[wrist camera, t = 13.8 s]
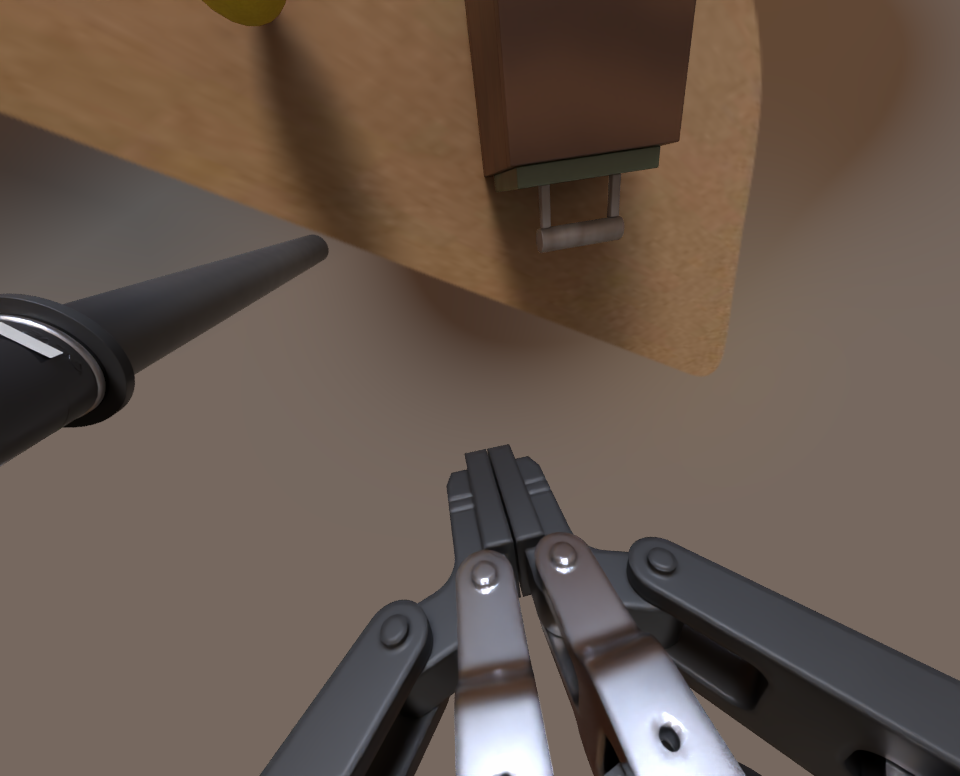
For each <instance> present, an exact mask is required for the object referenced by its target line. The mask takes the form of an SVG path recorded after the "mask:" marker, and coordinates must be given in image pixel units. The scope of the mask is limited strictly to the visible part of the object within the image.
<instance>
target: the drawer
mask: <svg viewBox="0 0 960 776" xmlns="http://www.w3.org/2000/svg"><path fill="white" fill-rule="evenodd" d="M659 155H660V146H659V145H658V146H652V147H645V148H638V149H631V150H625V151H618V152H611V153H604V154H598V155H591V156H584V157H578V158H571V159H564V160H557V161H551V162H544V163H537V164H530V165H524V166H517V167H515V168H512V169H509V170H507V171H504V172H501V173H499V174H496V175H494V181H495V191H496V192H503V191H510V190H516V189H523V188H529V187H536V186H539V209H540V229H538V230H537V233H536V244H537V248H538V251H539V252H540V253H543V252H549V251H555V250H561V249H566V248H572V247H578V246H584V245H590V244H596V243H601V242H607V241H613V240H619V239H620V238H621V237H622V236H623V233H624V221H623V218H622V217H621V216H619V200H620V182H621V174H620V173H626V172H633V171H639V170H645V169H652V168H657V167H658V166H659ZM607 175H609V183H608V207H607V218H601V219H595V220H589V221H583V222H577V223H571V224H565V225H559V226H553V227H551V214H550V185H549V184H555V183H562V182H568V181H574V180H581V179H587V178H594V177H600V176H607Z"/></svg>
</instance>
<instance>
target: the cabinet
mask: <svg viewBox="0 0 960 776" xmlns="http://www.w3.org/2000/svg"><path fill="white" fill-rule="evenodd" d="M695 5H696V0H465V6H466V15H467V24H468V33H469V43H470V52H471V61H472V70H473V79H474V88H475V97H476V106H477V115H478V125H479V134H480V143H481V152H482V161H483V170H484V177H488V176H494V175H496V174H499V173H501V172H504V171H507V170H509V169H512V168H515V167H517V166H524V165H530V164H537V163H544V162H551V161H557V160H564V159H571V158H578V157H584V156H591V155H598V154H604V153H611V152H618V151H625V150H631V149H638V148H645V147H652V146H658V145H659V146H662V145H666V144H670V143H674V142H678V141H679V138H680V129H681V121H682V113H683V104H684V96H685V88H686V80H687V71H688V63H689V55H690V46H691V38H692V30H693V21H694V13H695Z"/></svg>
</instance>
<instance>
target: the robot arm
mask: <svg viewBox="0 0 960 776" xmlns="http://www.w3.org/2000/svg"><path fill="white" fill-rule="evenodd" d="M107 391H108V378H107V374H106V371H105V369H104V367H103V365H102V363H101V362H100V360H99V359H98V357H97V356H96V355H95V354H94V352H93V351H92V350H91V349H90V348H89V347H88V346H87V345H85V344H84V343H83V342H82V341H81V340H79V339H78V338H77V337H75V336H74V335H72V334H71V333H69V332H67V331H66V330H64V329H62V328H60V327H58V326H56V325H54V324H52V323H49V322H47V321H44V320H41V319H38V318H34V317H30V316H26V315H20V314H10V313H0V466H2V465H3V464H5V463H7V462H8V461H10V460H11V459H13V458H14V457H16V456H17V455H19V454H21V453H22V452H24V451H26V450H27V449H29V448H30V447H32V446H33V445H35V444H37V443H38V442H40V441H41V440H43V439H45V438H46V437H48V436H49V435H51V434H53V433H54V432H56V431H57V430H59V429H61V428H62V427H64V426H65V425H67V424H69V423H70V422H72V421H73V420H75V419H77V418H79V417H82V416H83V415H85V414H87V413H89V412H90V411H92V410H93V409H95V408H96V407H98V406H99V405H100V404H101V403H102V402H103V400H104V399H105V397H106V395H107ZM487 450H488V454H487V451H486V449H484V450H479V451H475V452H470V453H465V459H466V463H467V470H463V471H458V472H454V473H451V476H450V478H449V481H448V484H447V494H448V501H449V511H450V520H451V528H452V536H453V545H454V554H455V564H454V568H453V572H452V574H451V576H450V578H449V579H448V581H447V582H446V583H445V584H444V586H442V588H440V589H439V590H438V591H436V592H435V593H434V594H432V595H430V596H429V597H427V598H426V599H424V600H423V601H421V602H419V603H418V604H417V603H415V602H413V601H410V600H398V601H394V602H392V603H390V604H388V605H386V606H384V607H383V608H382V609H380V611H378V612H377V613H376V614H375V616H374V617H373V618H372V619H371V621H370V622H369V624H368V625H367V626H366V628H365V629H364V630H363V632H362V633H361V635H360V636H359V637H358V639H357V640H356V642H355V643H354V644H353V646H352V647H351V649H350V650H349V651H348V653H347V654H346V656H345V657H344V658H343V660H342V661H341V663H340V664H339V665H338V667H337V668H336V670H335V671H334V672H333V674H332V675H331V677H330V678H329V679H328V681H327V682H326V684H325V685H324V686H323V688H322V689H321V691H320V692H319V693H318V695H317V696H316V698H315V699H314V700H313V702H312V703H311V704H310V706H309V707H308V709H307V710H306V712H305V713H304V714H303V716H302V717H301V718H300V720H299V721H298V723H297V724H296V726H295V727H294V728H293V730H292V731H291V732H290V734H289V735H288V737H287V738H286V739H285V741H284V742H283V744H282V745H281V746H280V748H279V749H278V751H277V752H276V753H275V755H274V756H273V757H272V759H271V760H270V762H269V763H268V764H267V766H266V767H265V769H264V770H263V772H262V773H261V774H260V776H414V774H415V773H416V771H417V768H418V766H419V764H420V762H421V760H422V758H423V755H424V753H425V751H426V749H427V747H428V745H429V743H430V740H431V738H432V736H433V734H434V732H435V730H436V728H437V725H438V723H439V721H440V719H441V717H442V714H443V713H444V710H445V708H446V706H447V703H448V701H449V697H450V696H451V695H452V694H453V693H455V703H454V709H455V710H454V711H455V756H456V776H554V775H553V770H552V765H551V760H550V755H549V749H548V745H547V739H546V734H545V729H544V723H543V718H542V713H541V708H540V703H539V697H538V692H537V687H536V682H535V678H534V673H533V670H532V666H531V661H530V656H529V650H528V645H527V640H526V635H525V630H524V624H523V619H522V614H521V608H520V603H519V598H520V597H521V595H520V588H519V583H520V587H521V591H522V594H523V597H524V596H528V595H532V597H533V600H534V604H535V607H536V611H537V614H538V617H539V619H540V623H541V626H542V629H543V632H544V634H545V637H546V639H547V642H548V645H549V648H550V650H551V653H552V655H553V658H554V661H555V663H556V666H557V669H558V671H559V674H560V676H561V679H562V682H563V685H564V687H565V690H566V692H567V695H568V698H569V700H570V703H571V706H572V708H573V711H574V714H575V718H576V721H577V725H578V729H579V733H580V737H581V740H582V743H583V746H584V750H585V753H586V755H587V758H588V761H589V764H590V767H591V769H592V772H593V774H594V776H761V775H760V774H758V773H757V772H755V771H754V770H752V769H750V768H749V767H747V766H745V765H743V764H741V763H739V762H737V761H736V759H735V758H734V756H733V755H732V753H731V752H730V750H729V748H728V747H727V745H726V744H725V742H724V740H723V739H722V737H721V736H720V734H719V733H718V731H717V730H716V728H715V727H714V725H713V723H712V722H711V720H710V719H709V717H708V715H707V714H706V712H705V711H704V709H703V708H702V706H701V705H700V703H699V702H698V700H697V698H696V697H695V695H694V694H693V692H692V690H691V689H693V690H694V691H695V692H697V693H698V694H700V695H701V696H703V697H704V698H705V699H707V700H708V701H710V702H711V703H712V704H714V705H715V706H717V707H718V708H719V709H721V710H722V711H724V712H725V713H727V714H728V715H729V716H731V717H732V718H734V719H735V720H737V721H738V722H739V723H741V724H742V725H743V726H745V727H746V728H748V729H749V730H751V731H752V732H753V733H755V734H756V735H758V736H759V737H760V738H762V739H763V740H765V741H766V742H767V743H769V744H770V745H772V746H773V747H775V748H776V749H777V750H779V751H780V752H782V753H783V754H785V755H786V756H787V757H789V758H790V759H792V760H793V761H794V762H796V763H797V764H799V765H800V766H801V767H803V768H804V769H806V770H807V771H808V772H810V773H811V774H813V775H814V776H960V681H959V680H956V679H955V678H952V677H950V676H948V675H946V674H944V673H942V672H940V671H938V670H936V669H934V668H931V667H930V666H927V665H926V664H923V663H921V662H919V661H917V660H915V659H913V658H911V657H909V656H907V655H905V654H903V653H901V652H898V651H897V650H894V649H892V648H890V647H888V646H886V645H884V644H882V643H880V642H878V641H876V640H874V639H872V638H869V637H868V636H865V635H863V634H861V633H859V632H857V631H855V630H853V629H851V628H849V627H847V626H845V625H843V624H841V623H838V622H836V621H834V620H832V619H830V618H828V617H826V616H824V615H822V614H820V613H818V612H816V611H814V610H811V609H810V608H808V607H805V606H803V605H801V604H799V603H797V602H795V601H793V600H791V599H789V598H787V597H784V596H783V595H780V594H779V593H776V592H774V591H772V590H770V589H768V588H766V587H764V586H762V585H760V584H758V583H756V582H754V581H752V580H750V579H747V578H745V577H743V576H741V575H739V574H737V573H735V572H733V571H731V570H729V569H727V568H725V567H723V566H720V565H719V564H716V563H714V562H712V561H710V560H708V559H706V558H704V557H702V556H699V555H698V554H696V553H694V552H692V551H690V550H687V549H685V548H683V547H681V546H679V545H677V544H675V543H673V542H671V541H668V540H666V539H662V538H657V537H645V538H642V539H639V540H637V541H636V542H635V543H633V545H632V546H631V547H630V550H629V552H621V551H606V550H599V549H595V548H592V547H590V546H588V545H587V544H586V543H585V542H584V541H583V540H582V539H581V538H579V537H578V536H576V535H574V534H573V533H572V531H571V530H570V528H569V526H568V524H567V522H566V519H565V517H564V515H563V513H562V511H561V509H560V507H559V505H558V503H557V501H556V499H555V497H554V495H553V493H552V491H551V490H550V486H549V484H548V482H547V481H546V479H545V476H544V474H543V472H542V470H541V468H540V466H539V465H538V464H537V463H536V462H535V461H533V460H532V459H531V458H530V457H528V456H526V457H522V458H517V459H515V457H514V455H513V452H512V450H511V447H510V445H509V444H507V445H503V446H498V447H493V448H489V449H487ZM690 688H691V689H690Z"/></svg>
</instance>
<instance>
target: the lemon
mask: <svg viewBox="0 0 960 776" xmlns="http://www.w3.org/2000/svg"><path fill="white" fill-rule="evenodd" d="M202 1H203V2H204V3H206V4H207V5H208V6H209V7H210V8H211V9H212V10H214V11H215V12H217V13H219V14H220V15H222V16H224V17H225V18H227V19H229V20H231V21H233V22H236V23H239V24H243V25H246V26H262V25H264V24H267V23H270V22H272V21H273V20H274V19H275V18H276V17H277V16H278V15H279V14H280V12H281V10H282V9H283V7H284V5H285V2H286V0H202Z"/></svg>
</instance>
